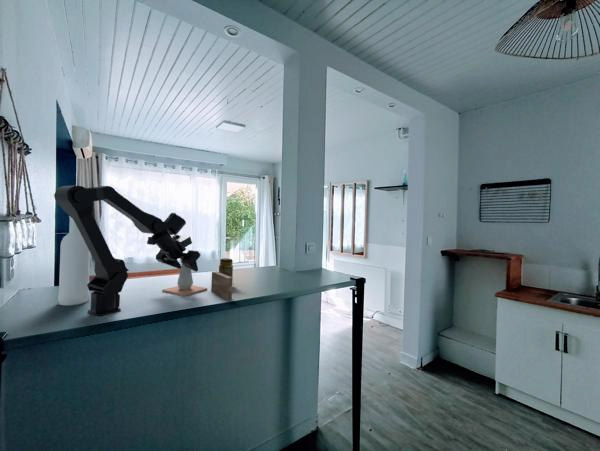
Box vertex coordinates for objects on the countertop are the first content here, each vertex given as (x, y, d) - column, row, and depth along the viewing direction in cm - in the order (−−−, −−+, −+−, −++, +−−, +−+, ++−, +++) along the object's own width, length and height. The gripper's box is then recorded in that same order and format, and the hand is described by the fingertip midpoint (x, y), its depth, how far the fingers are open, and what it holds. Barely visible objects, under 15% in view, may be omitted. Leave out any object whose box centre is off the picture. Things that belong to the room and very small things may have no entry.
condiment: (233, 284, 131) (234, 258, 130) (232, 288, 122) (234, 260, 122) (216, 284, 129) (217, 257, 129) (215, 288, 121) (216, 260, 121)
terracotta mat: (184, 296, 107) (184, 294, 107) (162, 291, 112) (162, 289, 112) (207, 290, 117) (207, 288, 117) (186, 285, 123) (186, 284, 123)
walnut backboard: (226, 299, 105) (227, 278, 105) (211, 291, 116) (211, 271, 116) (231, 298, 107) (232, 277, 106) (215, 290, 117) (216, 271, 117)
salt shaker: (191, 290, 112) (192, 257, 112) (175, 290, 111) (177, 257, 111) (193, 287, 118) (195, 256, 118) (178, 287, 117) (180, 255, 117)
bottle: (64, 299, 96) (66, 211, 96) (91, 298, 99) (94, 212, 99) (53, 306, 89) (56, 211, 88) (84, 305, 92) (87, 212, 91)
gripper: (197, 230, 107) (216, 256, 117) (163, 227, 115) (183, 252, 125) (180, 252, 100) (201, 278, 110) (144, 248, 108) (168, 272, 118)
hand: (188, 269), depth 116 cm, fingers open, 9 cm apart
